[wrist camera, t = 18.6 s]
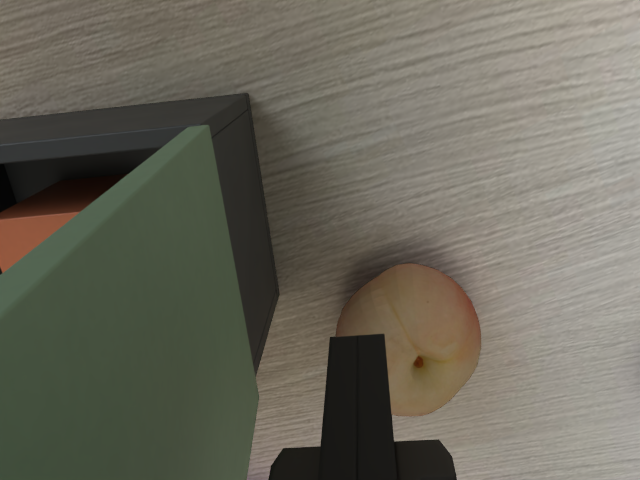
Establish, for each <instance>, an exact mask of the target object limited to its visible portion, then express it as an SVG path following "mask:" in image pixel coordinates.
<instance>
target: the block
mask: <svg viewBox="0 0 640 480" xmlns="http://www.w3.org/2000/svg"><path fill="white" fill-rule="evenodd" d="M126 175H128V174H122V175H112V176H103V177H93V178H83V179H74V180H64V181H58V182H57V183H55V184H53V185H51V186H49V187H47V188H45V189H43V190H42V191H40V192H38V193H36V194H34V195H32V196H30V197H28V198H27V199H25V200H23V201H21V202H19V203H17V204H15V205H13V206H12V207H10V208H8V209H6V210H4V211H2V212H0V268H1V271H2V273H3V272H5V271H6V270H7V269H8V268H10V267H11V266H12V265H14V264H15V263H16V262H17V261H19V260H20V259H21V258H22V257H24V256H25V255H26V254H27V253H29V252H30V251H31V250H33V249H34V248H35V247H36V246H38V245H39V244H40V243H41V242H43V241H44V240H45V239H47V238H48V237H49V236H50V235H52V234H53V233H54V232H55V231H57V230H58V229H59V228H60V227H62V226H63V225H64V224H66V223H67V222H68V221H69V220H71V219H72V218H73V217H74V216H76V215H77V214H78V213H80V212H81V211H82V210H83V209H85V208H86V207H87V206H88V205H90V204H91V203H92V202H93V201H95V200H96V199H97V198H99V197H100V196H101V195H102V194H104V193H105V192H106V191H107V190H109V189H110V188H111V187H113V186H114V185H115V184H116V183H118V182H119V181H120V180H121V179H123V178H124V177H125V176H126Z"/></svg>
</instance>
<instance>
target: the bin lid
mask: <svg viewBox="0 0 640 480" xmlns="http://www.w3.org/2000/svg"><path fill="white" fill-rule="evenodd" d="M258 401H259V394H258V388H257V383H256V377H255V372H254V367H253V361H252V356H251V350H250V345H249V339H248V334H247V328H246V323H245V318H244V312H243V307H242V301H241V296H240V290H239V285H238V280H237V274H236V269H235V263H234V258H233V252H232V247H231V242H230V236H229V231H228V225H227V220H226V214H225V209H224V203H223V198H222V193H221V187H220V182H219V176H218V171H217V165H216V160H215V155H214V149H213V144H212V138H211V133H210V127H209V125H201V126H192V127H187V128H186V129H185V130H184V131H182V132H181V133H180V134H179V135H177V136H176V137H175V138H173V139H172V140H171V141H170V142H168V143H167V144H166V145H165V146H163V147H162V148H161V149H160V150H158V151H157V152H156V153H154V154H153V155H152V156H151V157H149V158H148V159H147V160H146V161H144V162H143V163H142V164H140V165H139V166H138V167H137V168H135V169H134V170H133V171H132V172H130V173H129V174H128V175H126V176H125V177H124V178H123V179H121V180H120V181H119V182H118V183H116V184H115V185H114V186H113V187H111V188H110V189H109V190H107V191H106V192H105V193H104V194H102V195H101V196H100V197H99V198H97V199H96V200H95V201H93V202H92V203H91V204H90V205H88V206H87V207H86V208H85V209H83V210H82V211H81V212H80V213H78V214H77V215H76V216H74V217H73V218H72V219H71V220H69V221H68V222H67V223H66V224H64V225H63V226H62V227H60V228H59V229H58V230H57V231H55V232H54V233H53V234H52V235H50V236H49V237H48V238H47V239H45V240H44V241H43V242H41V243H40V244H39V245H38V246H36V247H35V248H34V249H33V250H31V251H30V252H29V253H27V254H26V255H25V256H24V257H22V258H21V259H20V260H19V261H17V262H16V263H15V264H14V265H12V266H11V267H10V268H8V269H7V270H6V271H5V272H3V273H2V274H1V275H0V480H247V473H248V467H249V460H250V454H251V447H252V440H253V434H254V427H255V421H256V414H257V407H258Z"/></svg>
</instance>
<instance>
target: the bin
mask: <svg viewBox="0 0 640 480" xmlns="http://www.w3.org/2000/svg"><path fill="white" fill-rule="evenodd" d="M201 125H209V127H210V133H211V138H212V144H213V149H214V155H215V160H216V165H217V171H218V176H219V182H220V187H221V193H222V198H223V203H224V209H225V214H226V220H227V225H228V231H229V236H230V242H231V247H232V252H233V258H234V263H235V269H236V274H237V280H238V285H239V290H240V296H241V301H242V307H243V312H244V318H245V323H246V328H247V334H248V339H249V345H250V350H251V356H252V361H253V367H254V372H255V377H256V374H257V370H258V367H259V363H260V360H261V356H262V353H263V349H264V346H265V342H266V339H267V335H268V332H269V328H270V325H271V321H272V318H273V314H274V311H275V307H276V304H277V301H278V297H279V289H278V282H277V276H276V269H275V263H274V256H273V250H272V244H271V237H270V231H269V224H268V218H267V211H266V205H265V198H264V192H263V185H262V179H261V172H260V166H259V159H258V153H257V147H256V140H255V134H254V127H253V121H252V114H251V108H250V101H249V95H248V93H243V94H234V95H225V96H216V97H206V98H197V99H188V100H179V101H169V102H160V103H151V104H142V105H133V106H123V107H114V108H105V109H96V110H86V111H77V112H68V113H59V114H49V115H40V116H31V117H22V118H12V119H3V120H0V212H2V211H4V210H6V209H8V208H10V207H12V206H13V205H15V204H17V203H19V202H21V201H23V200H25V199H27V198H28V197H30V196H32V195H34V194H36V193H38V192H40V191H42V190H43V189H45V188H47V187H49V186H51V185H53V184H55V183H57V182H58V181H64V180H74V179H83V178H93V177H103V176H112V175H122V174H129V173H130V172H132V171H133V170H134V169H135V168H137V167H138V166H139V165H140V164H142V163H143V162H144V161H146V160H147V159H148V158H149V157H151V156H152V155H153V154H154V153H156V152H157V151H158V150H160V149H161V148H162V147H163V146H165V145H166V144H167V143H168V142H170V141H171V140H172V139H173V138H175V137H176V136H177V135H179V134H180V133H181V132H182V131H184V130H185V129H186V128H187V127H192V126H201ZM1 274H2V271H1V268H0V275H1Z"/></svg>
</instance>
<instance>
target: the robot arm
mask: <svg viewBox="0 0 640 480" xmlns="http://www.w3.org/2000/svg"><path fill="white" fill-rule="evenodd" d="M269 480H457V478H456V473H455V468H454V463H453V459H452V456H451V455H450V453H449V452H448V451H447V449H446V448H445V447H444V446H443V444H442V443H441V442H440V441H439V440H419V441H398V442H394V437H393V426H392V414H391V403H390V391H389V380H388V368H387V357H386V345H385V334H371V335H356V336H341V337H330V344H329V356H328V367H327V379H326V391H325V402H324V414H323V426H322V437H321V447H301V448H283V450H282V451H281V452H280V454H279V455H278V457H277V458H276V460H275V461H274V463H273V464H272V465H271V469H270V475H269Z"/></svg>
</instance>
